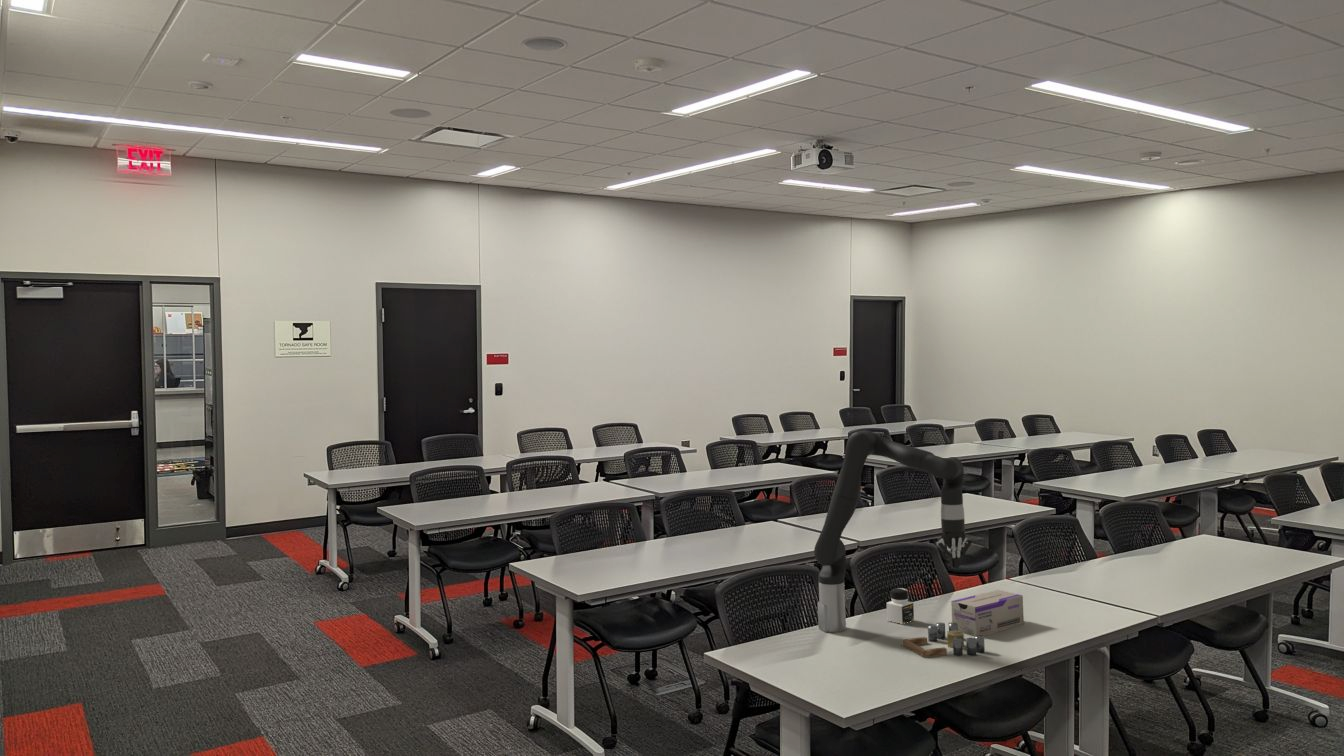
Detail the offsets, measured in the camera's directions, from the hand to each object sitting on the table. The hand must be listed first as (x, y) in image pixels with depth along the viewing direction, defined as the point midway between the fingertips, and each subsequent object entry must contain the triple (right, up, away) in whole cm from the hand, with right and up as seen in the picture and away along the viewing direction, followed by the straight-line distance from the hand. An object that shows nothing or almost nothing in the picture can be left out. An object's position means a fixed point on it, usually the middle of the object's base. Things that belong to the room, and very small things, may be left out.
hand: (955, 568), depth 297 cm
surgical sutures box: (+18, -26, +20) cm, 37 cm away
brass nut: (0, -26, 0) cm, 26 cm away
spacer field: (0, -26, 0) cm, 26 cm away
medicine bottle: (-10, -27, +32) cm, 43 cm away
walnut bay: (-10, -27, -2) cm, 29 cm away
